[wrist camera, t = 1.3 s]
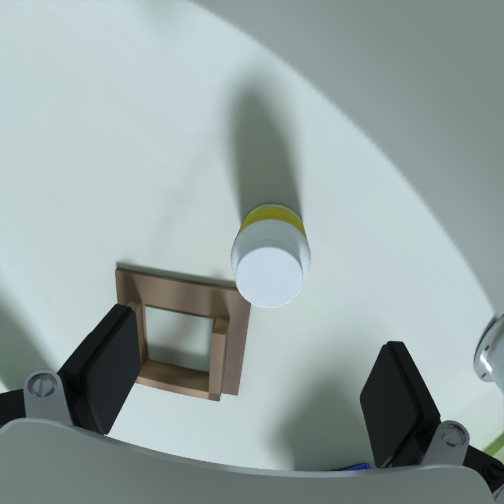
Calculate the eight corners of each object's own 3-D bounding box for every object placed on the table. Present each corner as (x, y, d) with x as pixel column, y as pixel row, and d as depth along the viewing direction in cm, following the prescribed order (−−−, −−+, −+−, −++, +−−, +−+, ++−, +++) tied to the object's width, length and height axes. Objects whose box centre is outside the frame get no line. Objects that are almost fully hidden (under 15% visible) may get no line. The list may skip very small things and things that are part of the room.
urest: (252, 290, 29) (249, 310, 25) (238, 392, 34) (234, 414, 30) (117, 268, 29) (100, 282, 26) (128, 368, 34) (117, 387, 31)
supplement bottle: (236, 206, 26) (214, 240, 17) (299, 196, 25) (311, 226, 16) (247, 264, 28) (233, 322, 19) (307, 255, 27) (320, 312, 18)
